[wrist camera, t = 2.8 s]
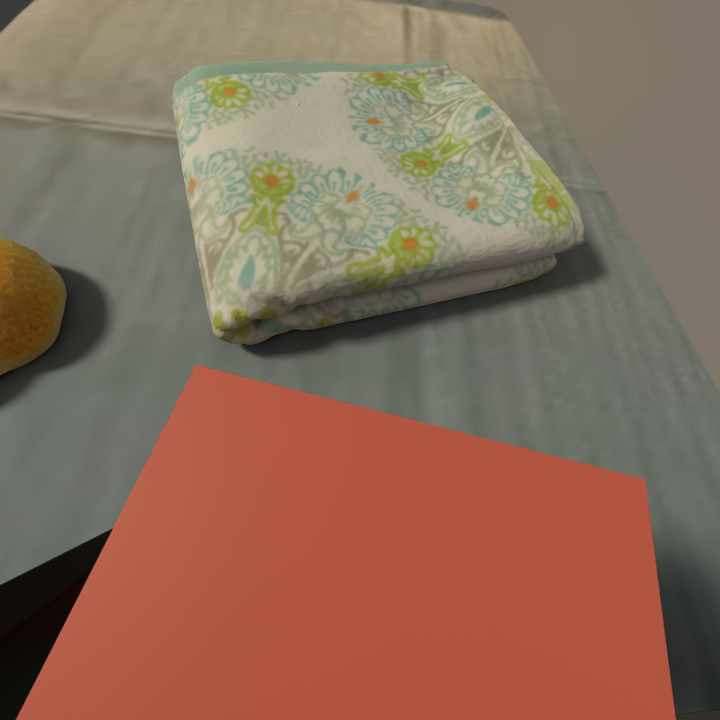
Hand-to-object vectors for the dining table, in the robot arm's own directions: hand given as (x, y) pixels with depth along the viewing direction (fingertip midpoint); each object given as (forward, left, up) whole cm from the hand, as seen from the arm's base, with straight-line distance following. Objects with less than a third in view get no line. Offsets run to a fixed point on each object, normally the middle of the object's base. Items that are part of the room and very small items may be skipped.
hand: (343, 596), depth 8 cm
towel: (+20, -8, -8) cm, 23 cm away
